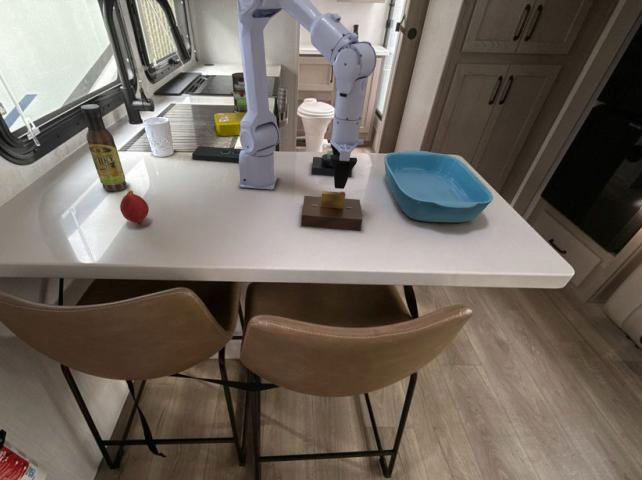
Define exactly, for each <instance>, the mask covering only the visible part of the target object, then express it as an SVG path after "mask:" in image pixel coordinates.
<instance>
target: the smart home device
mask: <svg viewBox="0 0 642 480" xmlns="http://www.w3.org/2000/svg"><path fill="white" fill-rule="evenodd" d="M241 150H244V149H243V148H231V147H220V146H219V147H218V146H205V145H203V146H202V145H199V146H197V148H196V149H195V150H194V151H193V152H192V153H191V157H192V160H196V161H208V162H224V163H236V164H239V155H240V151H241Z"/></svg>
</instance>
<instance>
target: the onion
mask: <svg viewBox="0 0 642 480" xmlns="http://www.w3.org/2000/svg"><path fill="white" fill-rule="evenodd" d="M119 210H120V212H121V215H122V216H123V218H124V219H126V220H127V221H130V223H131V222H132V223H135V224H142V223H143V221H144V220H145V219H146V218H147V217H148V214H149V211H150V209H149V205H148V203H147V202H146V200H145V199H144V198H143V197H142V196H140V195H138V194H136V193H134V191H133V190H132V189H128V190H127V192H126V194H125V195H124V196H123V197H122V199H121V201H120V203H119Z"/></svg>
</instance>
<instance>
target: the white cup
mask: <svg viewBox="0 0 642 480" xmlns="http://www.w3.org/2000/svg"><path fill="white" fill-rule="evenodd" d="M142 124H143V127H144V130H145V134H146V137H147V141H148V144H149V146H150V149H151V153H152V155H153V156H155V157H158V158H159V157H162V158H164V157H169V156H172V155H173V154H174V152H175V151H174V143H173V135H172V129H171V123H170V119H169V118H168V117H164V116H152V117H151V116H150V117H147V118H144V119H143V120H142Z"/></svg>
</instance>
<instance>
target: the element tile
mask: <svg viewBox="0 0 642 480" xmlns="http://www.w3.org/2000/svg"><path fill="white" fill-rule="evenodd" d="M246 113H247V112H242V113H235V112H217V113H215V114H213V118H214V119H213V120H214V127H215V132H216V135H217V136H218V137H234V136H235V137H238V136H239V137H240V132H241V125H240V122H241V120H242V119H243V117H244V116H245V114H246Z"/></svg>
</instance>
